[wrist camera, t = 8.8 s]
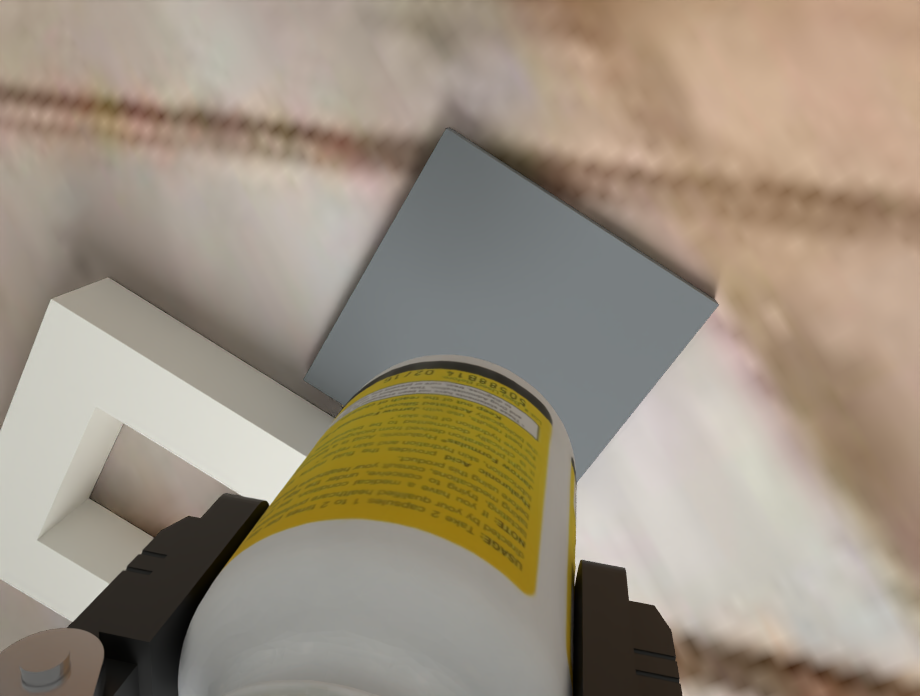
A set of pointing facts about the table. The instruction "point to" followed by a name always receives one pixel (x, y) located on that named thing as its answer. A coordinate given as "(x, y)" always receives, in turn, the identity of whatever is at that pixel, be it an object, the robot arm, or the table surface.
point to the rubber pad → (514, 297)
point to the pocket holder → (141, 408)
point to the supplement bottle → (406, 551)
